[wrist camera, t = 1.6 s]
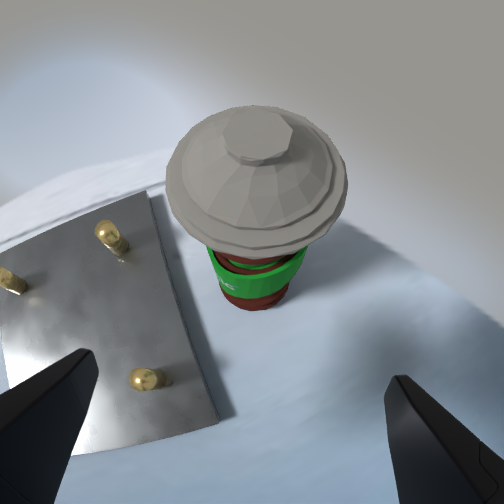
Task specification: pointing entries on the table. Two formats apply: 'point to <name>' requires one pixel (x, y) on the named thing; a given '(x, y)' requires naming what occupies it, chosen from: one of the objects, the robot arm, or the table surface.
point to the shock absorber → (256, 196)
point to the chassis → (106, 324)
